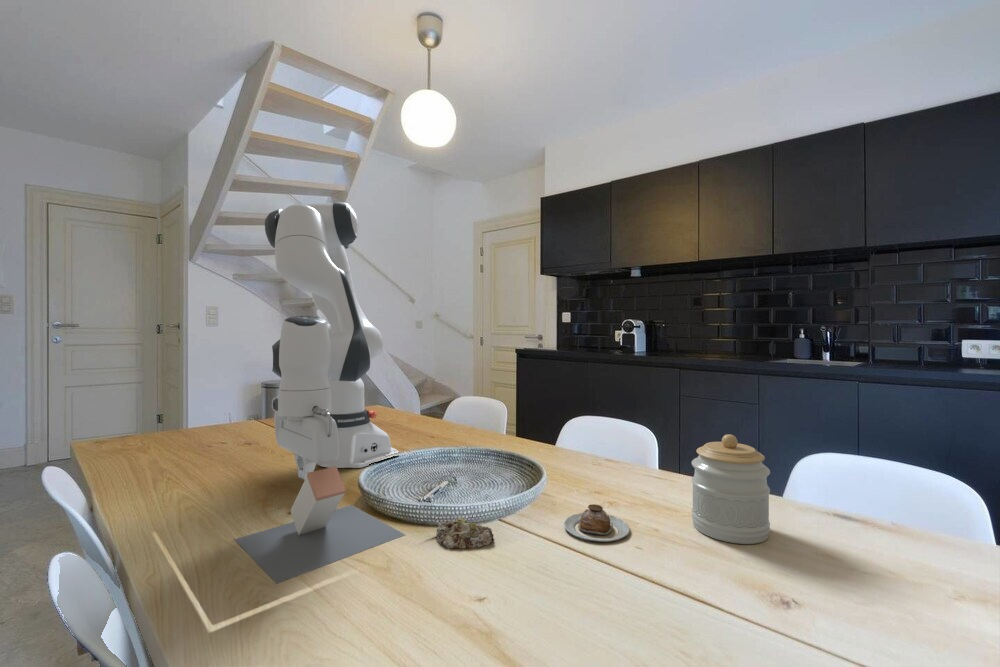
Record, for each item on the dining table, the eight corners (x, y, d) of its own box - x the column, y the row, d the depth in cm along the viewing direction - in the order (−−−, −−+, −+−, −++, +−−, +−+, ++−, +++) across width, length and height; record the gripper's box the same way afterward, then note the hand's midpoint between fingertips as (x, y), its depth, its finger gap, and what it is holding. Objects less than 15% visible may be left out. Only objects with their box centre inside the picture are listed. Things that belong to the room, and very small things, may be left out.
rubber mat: (351, 507, 96) (351, 504, 96) (405, 538, 82) (405, 534, 82) (234, 542, 81) (234, 539, 81) (276, 587, 67) (276, 583, 67)
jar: (766, 522, 89) (766, 430, 88) (774, 552, 77) (774, 446, 77) (692, 511, 94) (692, 424, 94) (689, 537, 82) (689, 438, 82)
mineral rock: (426, 535, 79) (443, 506, 86) (428, 556, 80) (445, 525, 87) (486, 545, 76) (499, 513, 83) (487, 567, 77) (500, 534, 84)
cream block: (317, 503, 88) (336, 466, 82) (325, 526, 86) (346, 490, 80) (290, 510, 85) (308, 472, 79) (298, 535, 82) (317, 497, 76)
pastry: (580, 513, 94) (580, 491, 94) (638, 528, 87) (638, 504, 87) (552, 535, 84) (552, 510, 84) (615, 553, 77) (615, 526, 77)
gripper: (348, 408, 80) (348, 487, 80) (301, 396, 94) (301, 464, 94) (312, 412, 75) (312, 497, 75) (268, 399, 90) (268, 470, 90)
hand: (305, 478), depth 85 cm, fingers closed
